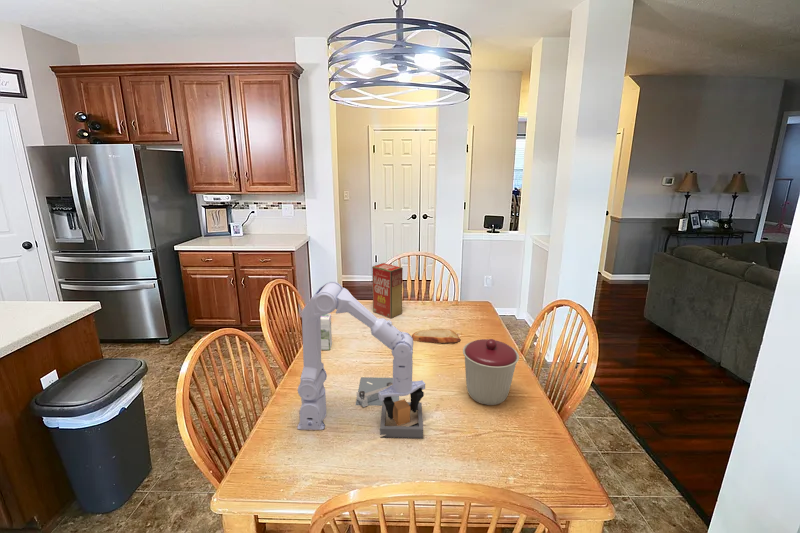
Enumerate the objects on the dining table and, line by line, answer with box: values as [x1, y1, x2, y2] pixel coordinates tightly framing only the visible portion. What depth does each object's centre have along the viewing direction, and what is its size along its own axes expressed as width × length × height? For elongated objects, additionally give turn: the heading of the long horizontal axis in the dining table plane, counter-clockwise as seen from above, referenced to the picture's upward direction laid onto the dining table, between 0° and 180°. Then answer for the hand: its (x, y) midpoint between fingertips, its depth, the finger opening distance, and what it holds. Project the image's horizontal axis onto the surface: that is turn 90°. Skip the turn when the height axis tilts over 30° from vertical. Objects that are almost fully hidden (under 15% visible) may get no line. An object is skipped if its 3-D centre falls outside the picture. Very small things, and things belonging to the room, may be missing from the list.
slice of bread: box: [411, 328, 461, 345], centre depth 170 cm, size 18×18×4 cm
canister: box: [462, 338, 520, 406], centre depth 127 cm, size 18×18×21 cm
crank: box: [356, 383, 393, 408], centre depth 126 cm, size 14×5×4 cm, turn 119°
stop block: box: [392, 398, 411, 426], centre depth 115 cm, size 4×4×6 cm
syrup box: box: [321, 313, 333, 351], centre depth 159 cm, size 6×6×14 cm
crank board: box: [355, 376, 400, 407], centre depth 130 cm, size 16×14×2 cm
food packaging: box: [371, 262, 403, 319], centre depth 194 cm, size 13×9×25 cm
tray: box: [379, 401, 424, 440], centre depth 115 cm, size 12×12×3 cm
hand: (401, 414), depth 115 cm, fingers open, 7 cm apart
